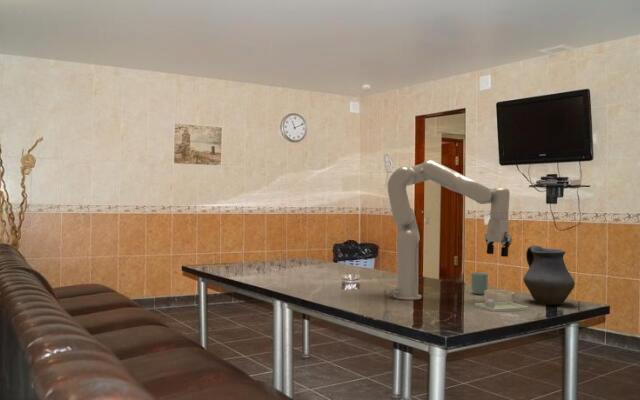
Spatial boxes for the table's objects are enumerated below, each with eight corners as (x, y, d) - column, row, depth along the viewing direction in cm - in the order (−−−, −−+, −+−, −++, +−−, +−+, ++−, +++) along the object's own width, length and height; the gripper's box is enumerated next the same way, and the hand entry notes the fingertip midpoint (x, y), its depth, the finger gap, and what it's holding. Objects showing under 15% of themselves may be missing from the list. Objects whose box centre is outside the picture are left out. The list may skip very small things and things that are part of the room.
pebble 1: (495, 296, 236) (486, 295, 238) (496, 302, 238) (487, 301, 240) (497, 289, 238) (488, 288, 240) (498, 295, 240) (489, 294, 242)
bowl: (496, 305, 228) (496, 295, 228) (478, 300, 240) (478, 290, 240) (520, 304, 232) (520, 293, 232) (501, 299, 244) (501, 289, 244)
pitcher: (551, 309, 221) (552, 249, 221) (510, 301, 240) (511, 245, 240) (584, 305, 230) (584, 247, 230) (542, 297, 249) (542, 244, 250)
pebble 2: (489, 309, 216) (489, 299, 217) (483, 307, 220) (483, 298, 220) (497, 309, 218) (497, 299, 218) (491, 307, 222) (491, 297, 222)
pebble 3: (498, 304, 234) (498, 297, 232) (492, 299, 238) (492, 292, 236) (506, 301, 235) (505, 294, 233) (500, 295, 239) (500, 289, 237)
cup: (488, 295, 253) (488, 274, 253) (471, 295, 255) (471, 274, 255) (486, 293, 261) (487, 272, 261) (470, 292, 262) (470, 272, 262)
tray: (493, 313, 212) (493, 309, 212) (474, 307, 224) (474, 303, 224) (529, 310, 218) (529, 306, 218) (508, 305, 230) (508, 301, 230)
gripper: (479, 215, 242) (477, 252, 242) (505, 217, 226) (502, 257, 226) (493, 215, 245) (491, 253, 245) (519, 217, 228) (517, 257, 228)
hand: (497, 255), depth 235 cm, fingers open, 9 cm apart
